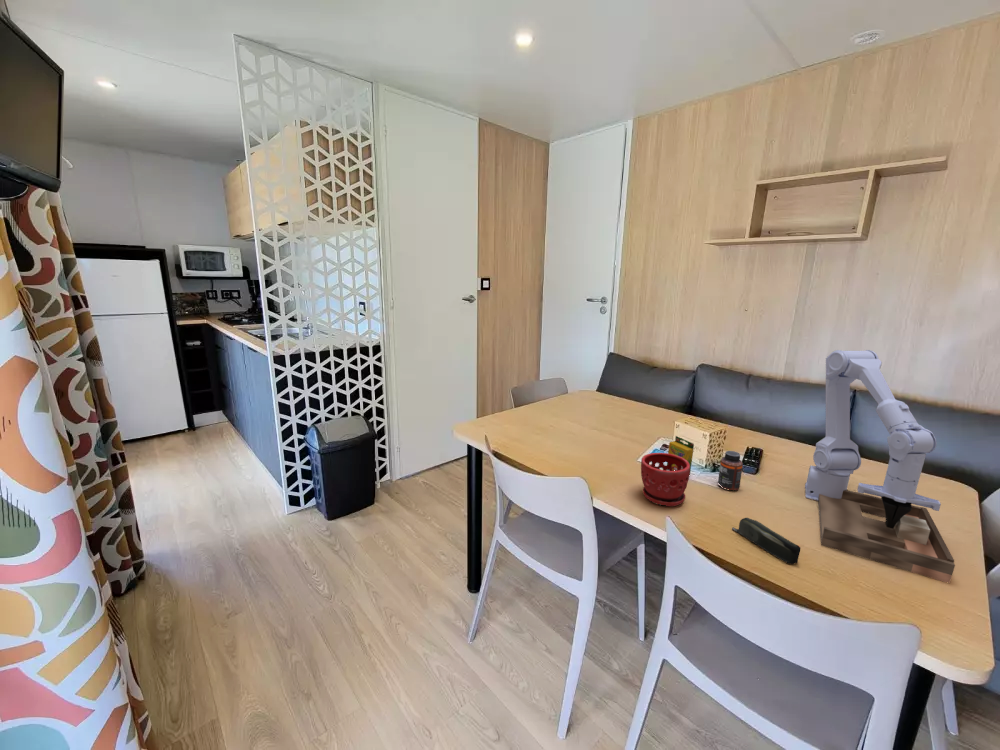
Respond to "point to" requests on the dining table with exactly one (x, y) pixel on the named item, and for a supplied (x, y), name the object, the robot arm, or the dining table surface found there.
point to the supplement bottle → (730, 471)
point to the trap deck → (881, 536)
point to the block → (912, 529)
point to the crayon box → (681, 451)
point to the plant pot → (664, 478)
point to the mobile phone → (769, 540)
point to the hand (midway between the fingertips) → (889, 526)
